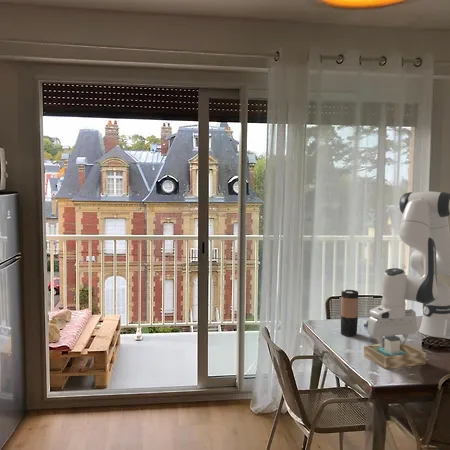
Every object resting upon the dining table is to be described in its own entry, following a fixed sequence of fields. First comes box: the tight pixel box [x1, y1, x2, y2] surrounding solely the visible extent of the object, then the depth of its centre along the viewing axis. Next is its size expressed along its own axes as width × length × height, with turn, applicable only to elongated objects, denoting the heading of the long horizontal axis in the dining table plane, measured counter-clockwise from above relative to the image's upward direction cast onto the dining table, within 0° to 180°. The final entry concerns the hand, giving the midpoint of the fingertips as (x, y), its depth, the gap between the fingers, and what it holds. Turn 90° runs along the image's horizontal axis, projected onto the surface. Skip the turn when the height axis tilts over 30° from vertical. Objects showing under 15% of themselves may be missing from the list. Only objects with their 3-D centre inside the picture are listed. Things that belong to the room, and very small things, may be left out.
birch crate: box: [363, 343, 427, 370], centre depth 182 cm, size 18×14×4 cm
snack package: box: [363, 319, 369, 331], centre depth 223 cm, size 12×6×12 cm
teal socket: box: [378, 348, 406, 357], centre depth 181 cm, size 7×7×4 cm
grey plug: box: [381, 335, 407, 344], centre depth 198 cm, size 9×4×4 cm, turn 107°
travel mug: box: [340, 289, 359, 337], centre depth 215 cm, size 8×8×20 cm
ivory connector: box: [384, 335, 400, 354], centre depth 181 cm, size 4×4×9 cm
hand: (392, 345), depth 181 cm, fingers open, 8 cm apart
